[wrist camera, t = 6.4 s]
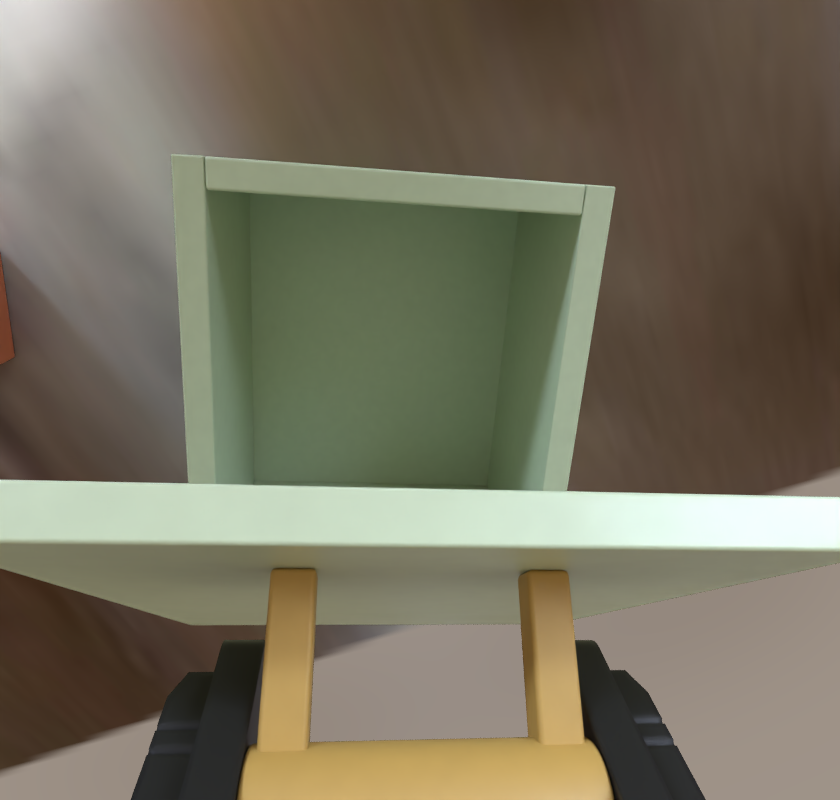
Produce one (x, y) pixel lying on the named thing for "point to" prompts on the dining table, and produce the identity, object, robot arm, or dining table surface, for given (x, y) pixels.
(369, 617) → the lid
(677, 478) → the dining table surface
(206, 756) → the robot arm
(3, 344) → the block
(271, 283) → the chest
